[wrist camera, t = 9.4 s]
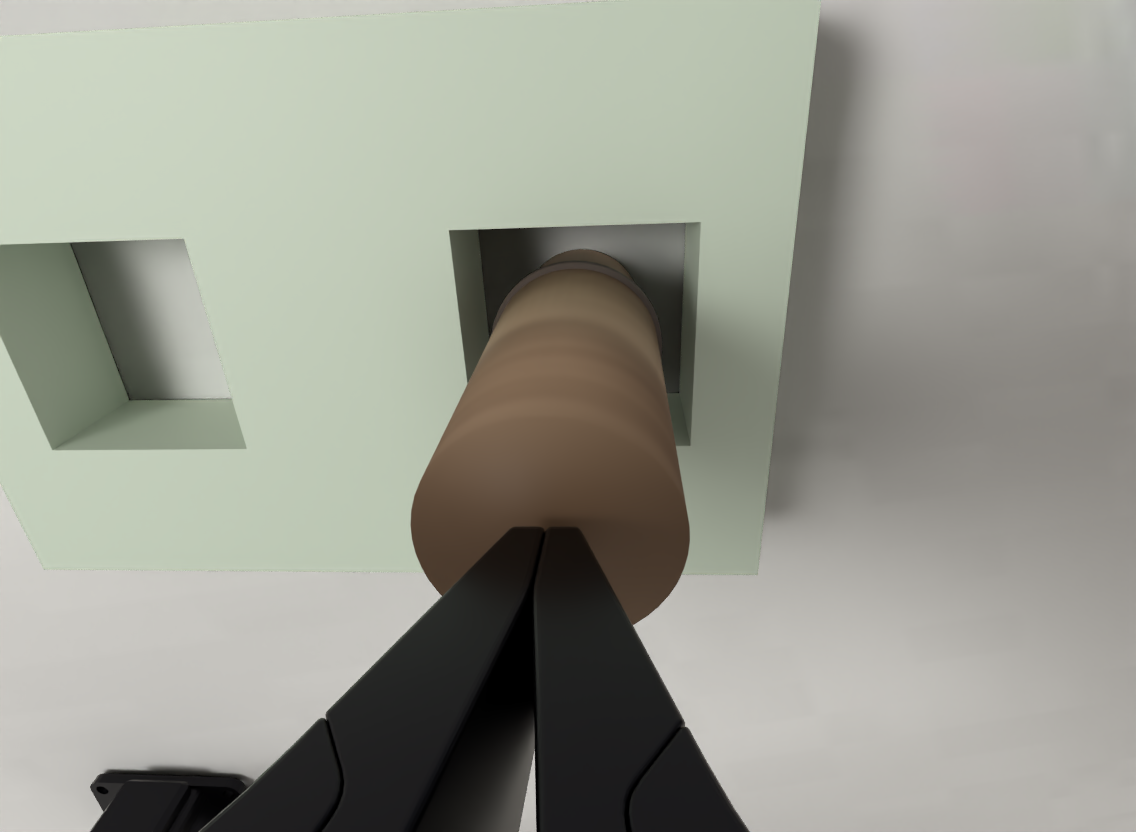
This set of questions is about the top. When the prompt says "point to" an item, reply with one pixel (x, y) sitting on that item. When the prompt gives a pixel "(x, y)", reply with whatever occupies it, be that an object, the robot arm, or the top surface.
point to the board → (376, 257)
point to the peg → (563, 436)
